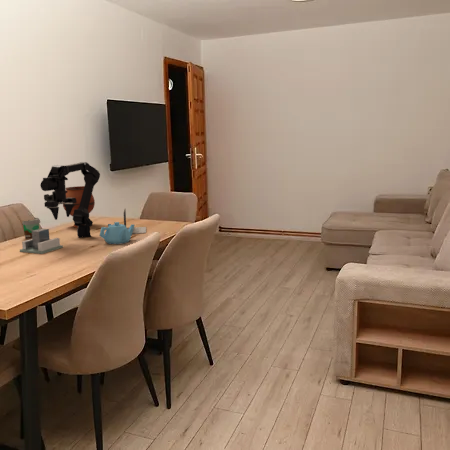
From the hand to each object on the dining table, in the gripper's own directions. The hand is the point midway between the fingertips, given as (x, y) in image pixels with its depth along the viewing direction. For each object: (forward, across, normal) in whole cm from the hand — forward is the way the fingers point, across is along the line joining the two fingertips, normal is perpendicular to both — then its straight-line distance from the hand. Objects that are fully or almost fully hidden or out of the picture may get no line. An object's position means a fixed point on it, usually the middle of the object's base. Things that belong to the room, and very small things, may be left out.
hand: (62, 218), depth 255 cm
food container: (+13, -6, -26) cm, 29 cm away
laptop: (+14, -40, +20) cm, 46 cm away
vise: (+13, +18, +1) cm, 22 cm away
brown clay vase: (+13, -40, -21) cm, 48 cm away
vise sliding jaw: (+12, +18, -5) cm, 22 cm away
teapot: (+13, -11, +28) cm, 32 cm away
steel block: (+12, +18, +1) cm, 22 cm away
